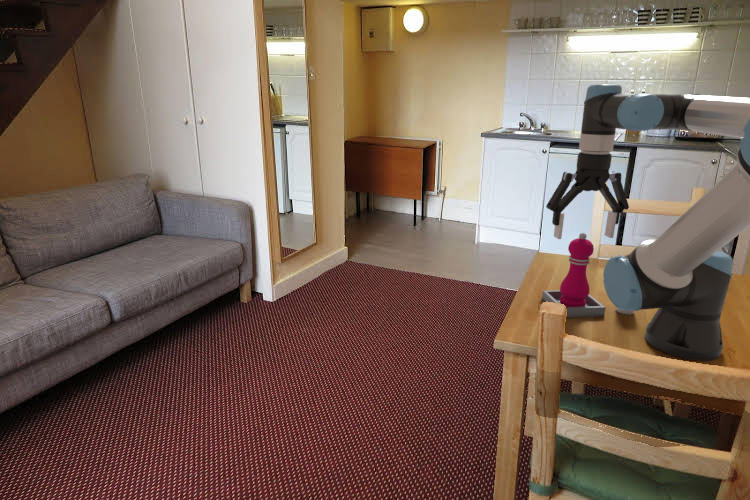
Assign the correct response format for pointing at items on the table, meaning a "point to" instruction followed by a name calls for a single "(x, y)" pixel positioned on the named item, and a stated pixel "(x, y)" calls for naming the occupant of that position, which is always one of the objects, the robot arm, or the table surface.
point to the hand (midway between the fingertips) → (583, 237)
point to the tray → (590, 309)
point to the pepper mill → (577, 273)
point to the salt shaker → (624, 311)
